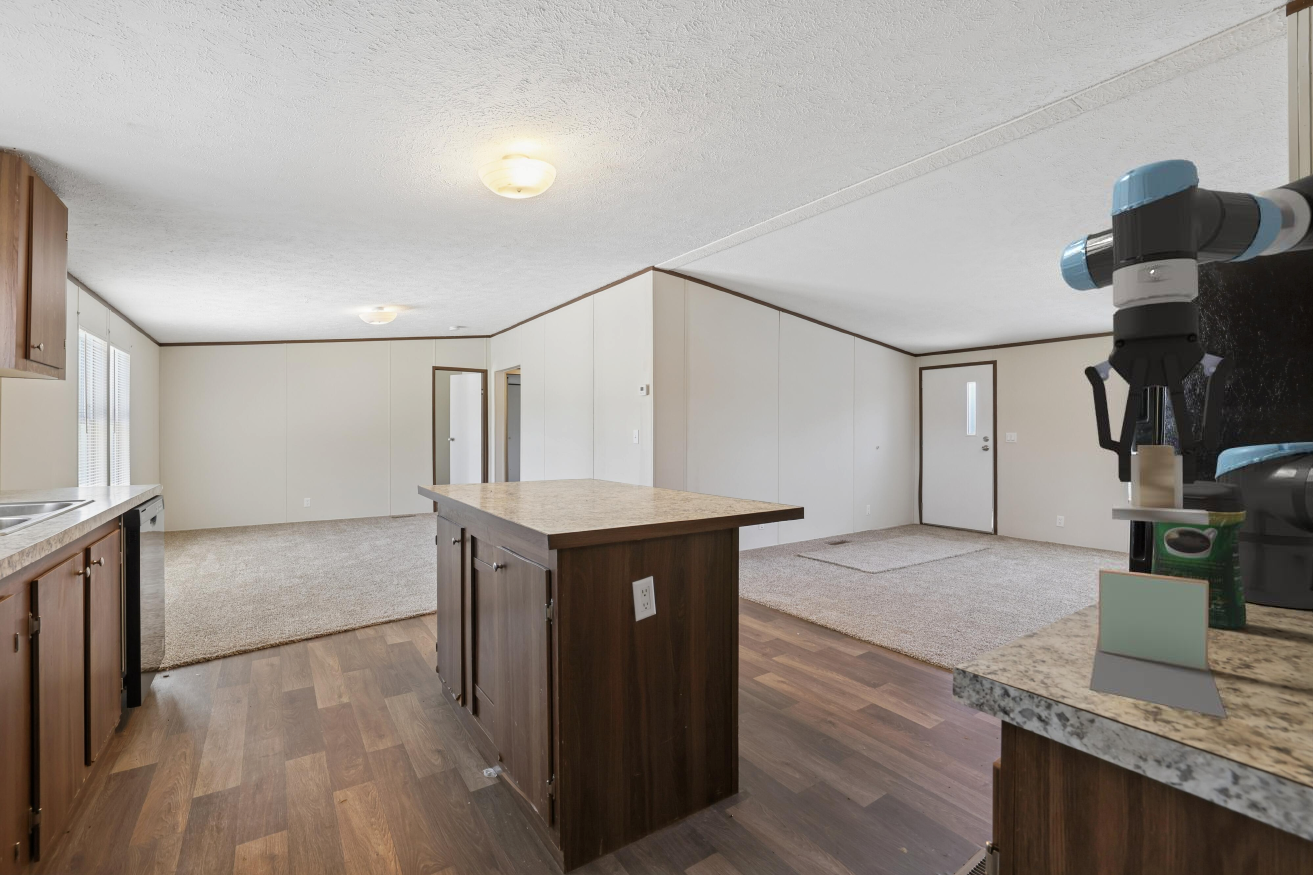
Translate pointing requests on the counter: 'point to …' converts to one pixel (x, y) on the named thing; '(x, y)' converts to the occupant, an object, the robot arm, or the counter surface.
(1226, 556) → the coffee jar
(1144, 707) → the counter surface
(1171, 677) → the mat
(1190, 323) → the robot arm
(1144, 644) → the tile
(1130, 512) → the upright block with backplate
